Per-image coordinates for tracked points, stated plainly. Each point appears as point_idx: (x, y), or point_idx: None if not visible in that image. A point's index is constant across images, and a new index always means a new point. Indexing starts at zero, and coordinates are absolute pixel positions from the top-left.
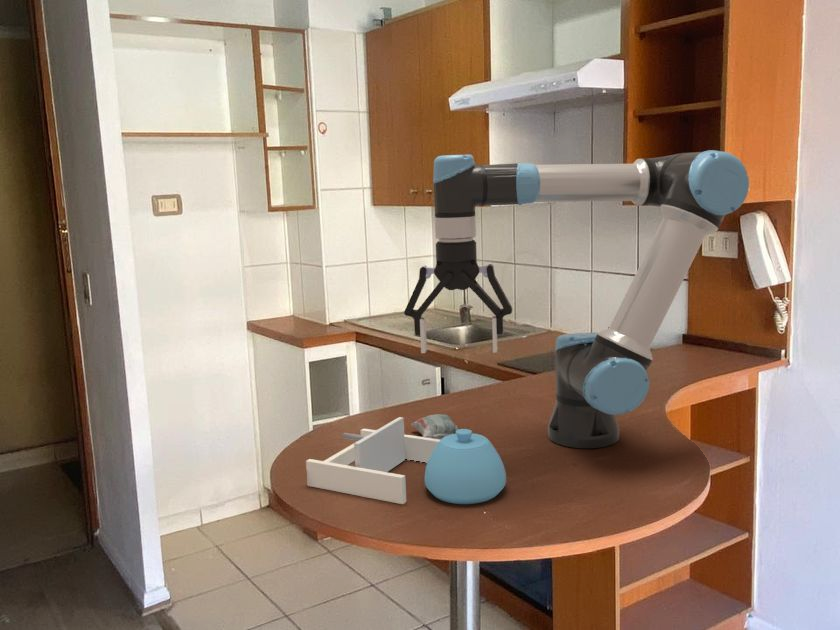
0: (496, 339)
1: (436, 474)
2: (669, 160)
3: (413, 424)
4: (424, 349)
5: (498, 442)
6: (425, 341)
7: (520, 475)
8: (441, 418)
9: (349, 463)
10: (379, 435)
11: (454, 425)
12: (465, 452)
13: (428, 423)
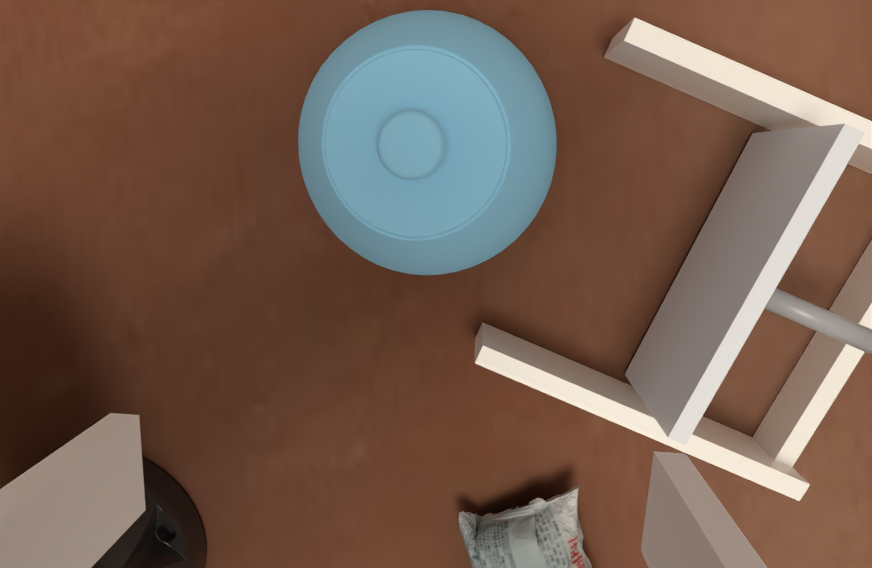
0: (39, 464)
1: (515, 49)
2: None
3: None
4: (666, 468)
5: (347, 508)
6: (675, 549)
7: (277, 258)
8: None
9: (804, 353)
10: (754, 267)
11: (477, 554)
12: (406, 43)
13: (565, 561)
